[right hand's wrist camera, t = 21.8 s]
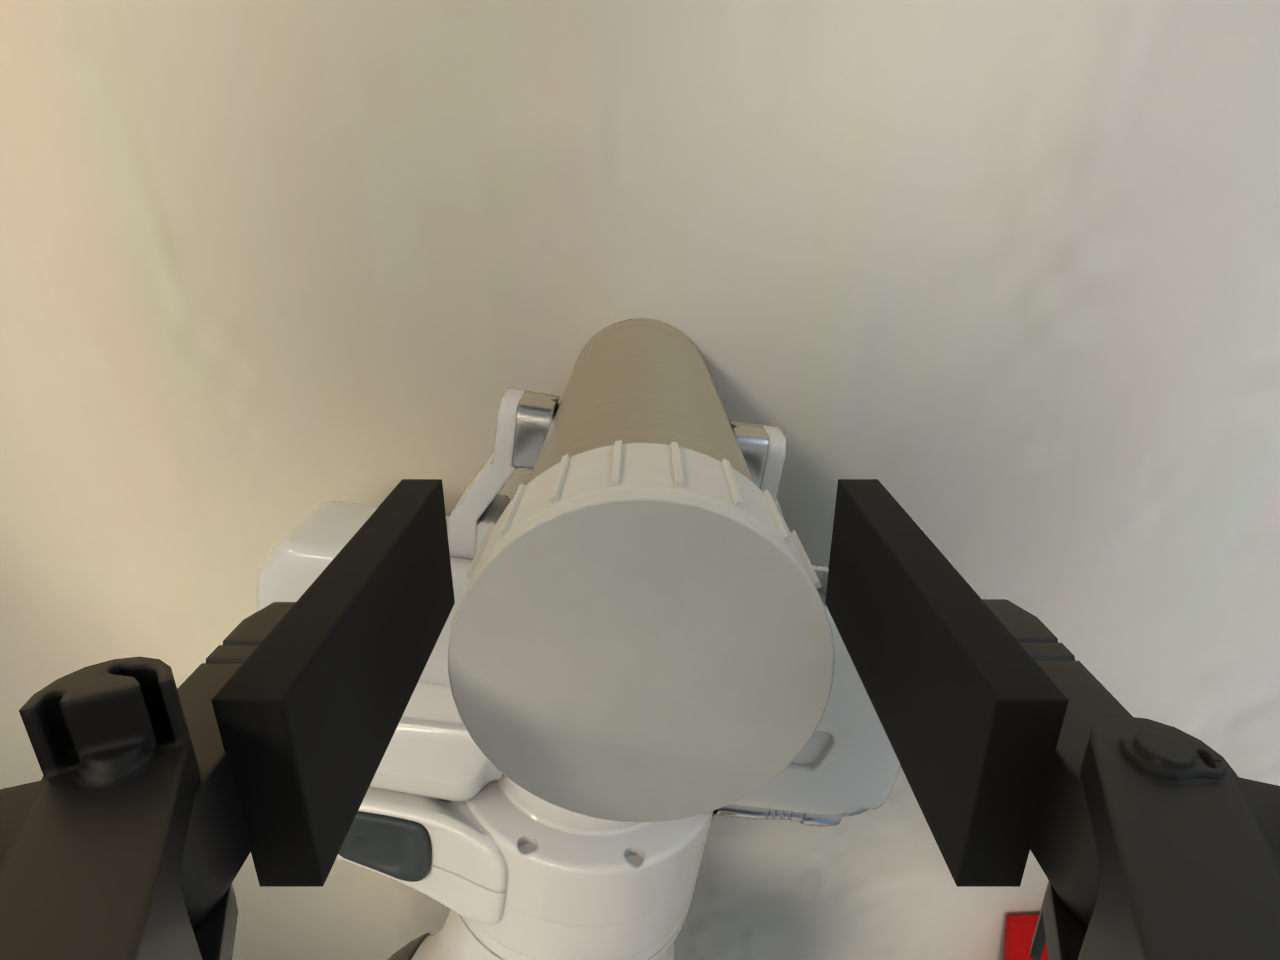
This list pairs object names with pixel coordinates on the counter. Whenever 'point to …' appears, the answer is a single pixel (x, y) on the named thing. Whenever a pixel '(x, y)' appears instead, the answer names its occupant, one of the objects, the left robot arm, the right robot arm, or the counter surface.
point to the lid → (641, 636)
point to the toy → (1021, 937)
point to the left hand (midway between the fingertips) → (643, 412)
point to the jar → (640, 397)
